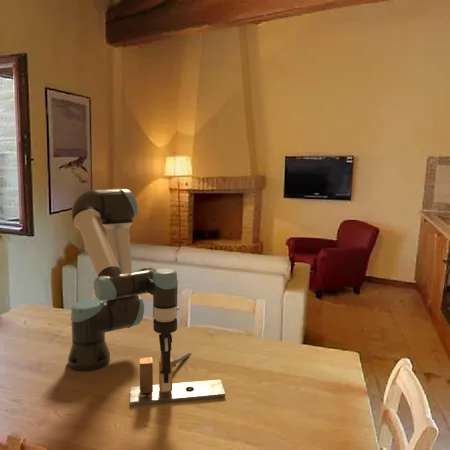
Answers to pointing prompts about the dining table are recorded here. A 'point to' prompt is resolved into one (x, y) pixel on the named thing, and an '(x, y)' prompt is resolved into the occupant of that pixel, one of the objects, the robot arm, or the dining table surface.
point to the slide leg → (161, 374)
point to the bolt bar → (179, 393)
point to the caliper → (180, 359)
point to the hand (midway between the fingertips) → (165, 386)
